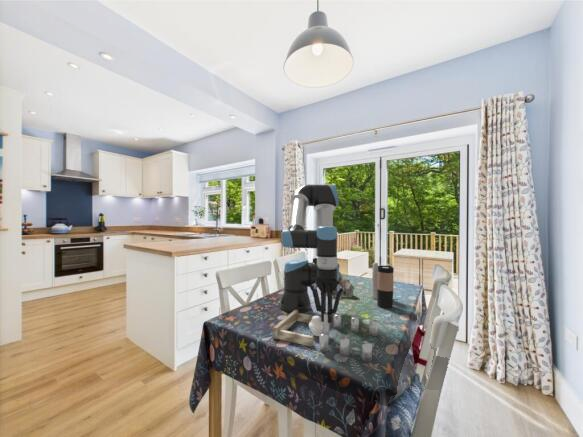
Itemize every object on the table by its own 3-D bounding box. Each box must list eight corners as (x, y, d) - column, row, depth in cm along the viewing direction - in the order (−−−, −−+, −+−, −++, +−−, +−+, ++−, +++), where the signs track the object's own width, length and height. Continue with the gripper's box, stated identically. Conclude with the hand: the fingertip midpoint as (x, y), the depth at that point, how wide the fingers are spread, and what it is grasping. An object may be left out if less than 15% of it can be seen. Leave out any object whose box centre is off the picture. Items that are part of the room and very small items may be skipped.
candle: (399, 300, 138) (400, 263, 138) (374, 299, 139) (374, 263, 139) (394, 296, 146) (395, 261, 145) (370, 295, 146) (371, 261, 146)
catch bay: (273, 338, 93) (273, 327, 92) (295, 318, 111) (295, 309, 111) (311, 347, 87) (312, 335, 87) (327, 325, 105) (328, 315, 105)
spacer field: (318, 350, 85) (318, 335, 85) (334, 325, 105) (334, 313, 105) (371, 362, 78) (371, 346, 78) (377, 333, 98) (377, 320, 98)
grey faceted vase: (329, 332, 96) (327, 314, 96) (320, 339, 91) (318, 319, 92) (315, 329, 100) (313, 312, 100) (306, 335, 95) (304, 317, 96)
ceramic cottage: (318, 292, 151) (320, 267, 150) (340, 290, 158) (342, 266, 157) (333, 301, 137) (336, 274, 136) (357, 299, 144) (359, 273, 144)
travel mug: (374, 305, 129) (374, 266, 129) (381, 302, 134) (381, 264, 134) (388, 310, 123) (389, 268, 123) (395, 306, 129) (396, 267, 129)
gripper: (307, 267, 94) (306, 331, 94) (342, 270, 89) (341, 338, 89) (313, 264, 101) (313, 324, 101) (346, 267, 96) (345, 329, 96)
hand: (326, 330), depth 95 cm, fingers closed
